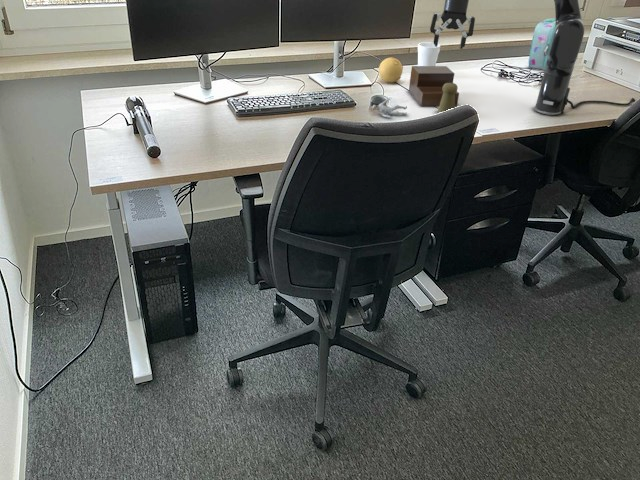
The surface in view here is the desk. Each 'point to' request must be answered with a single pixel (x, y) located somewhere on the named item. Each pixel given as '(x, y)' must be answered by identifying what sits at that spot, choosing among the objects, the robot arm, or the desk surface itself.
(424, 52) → the foam cup
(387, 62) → the stress ball
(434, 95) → the step shelf
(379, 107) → the soldier figure
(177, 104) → the desk surface
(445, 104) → the olive pawn
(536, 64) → the lunch box
